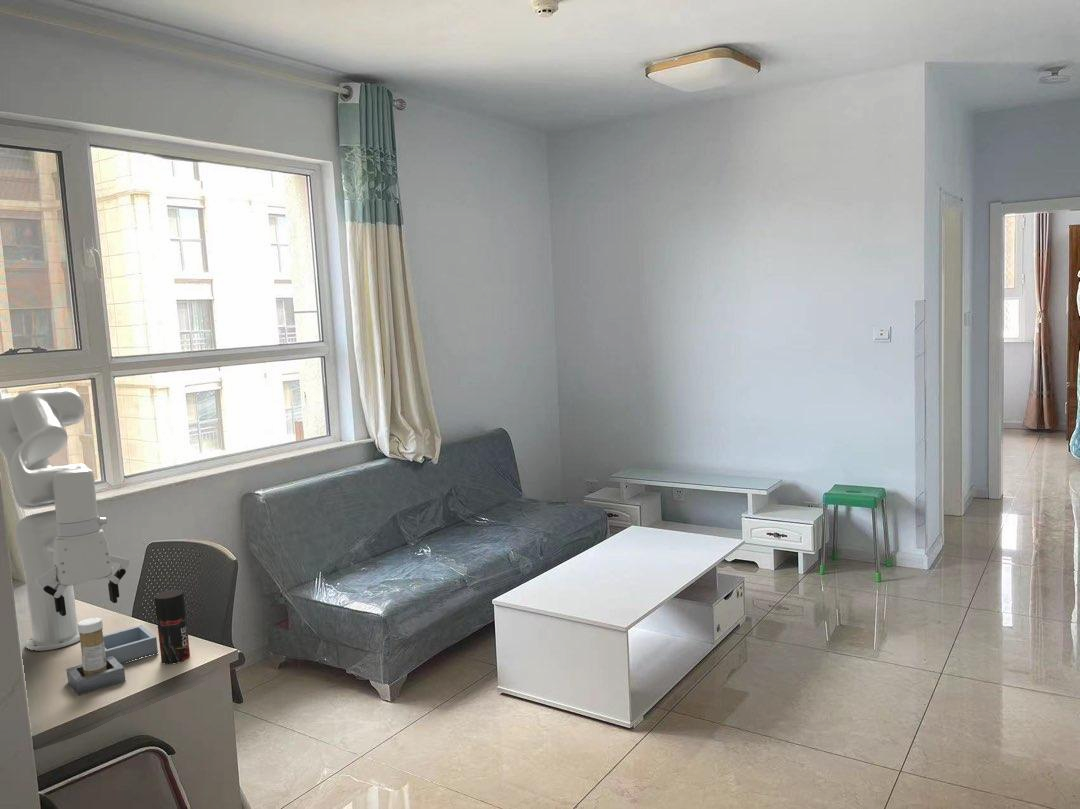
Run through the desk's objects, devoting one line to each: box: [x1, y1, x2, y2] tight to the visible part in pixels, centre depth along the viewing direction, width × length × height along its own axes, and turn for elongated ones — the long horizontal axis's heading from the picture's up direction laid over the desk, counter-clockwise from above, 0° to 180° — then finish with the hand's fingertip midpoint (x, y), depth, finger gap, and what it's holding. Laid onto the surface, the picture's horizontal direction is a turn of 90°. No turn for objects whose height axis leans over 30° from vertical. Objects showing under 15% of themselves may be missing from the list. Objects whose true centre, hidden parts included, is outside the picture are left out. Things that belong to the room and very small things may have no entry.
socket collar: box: [65, 656, 126, 697], centre depth 173 cm, size 9×9×3 cm
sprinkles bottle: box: [77, 617, 107, 677], centre depth 173 cm, size 5×5×14 cm
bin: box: [103, 624, 159, 665], centre depth 187 cm, size 11×11×4 cm
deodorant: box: [154, 589, 191, 665], centre depth 183 cm, size 6×6×15 cm
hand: (88, 607), depth 171 cm, fingers open, 9 cm apart
